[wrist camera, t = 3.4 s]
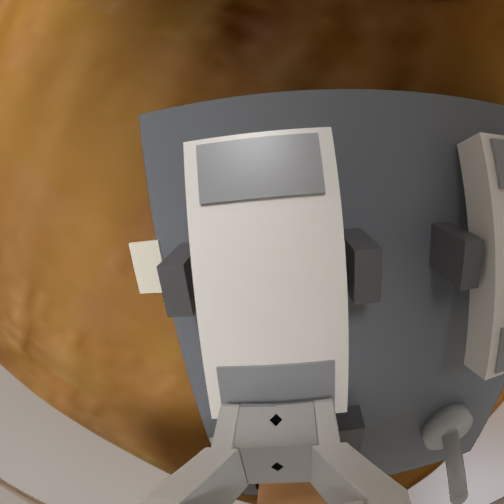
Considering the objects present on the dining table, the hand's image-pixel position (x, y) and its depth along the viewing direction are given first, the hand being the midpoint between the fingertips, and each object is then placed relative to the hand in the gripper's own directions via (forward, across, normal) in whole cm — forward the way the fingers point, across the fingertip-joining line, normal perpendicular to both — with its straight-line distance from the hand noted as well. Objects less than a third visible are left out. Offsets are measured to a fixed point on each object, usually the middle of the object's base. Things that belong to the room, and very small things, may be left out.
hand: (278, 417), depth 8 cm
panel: (+7, -4, +2) cm, 9 cm away
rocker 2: (+2, -9, -3) cm, 10 cm away
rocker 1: (+2, 0, -3) cm, 4 cm away
